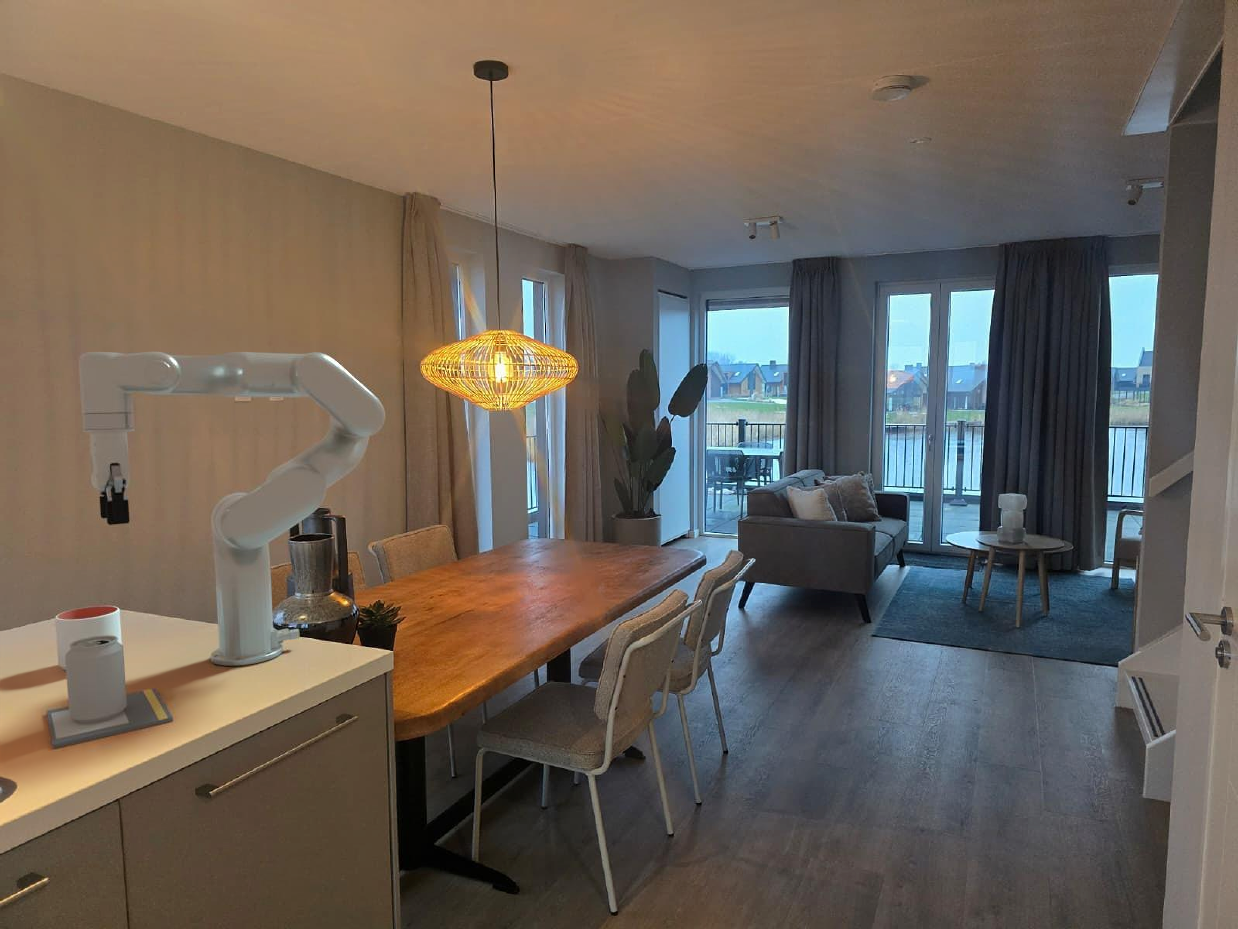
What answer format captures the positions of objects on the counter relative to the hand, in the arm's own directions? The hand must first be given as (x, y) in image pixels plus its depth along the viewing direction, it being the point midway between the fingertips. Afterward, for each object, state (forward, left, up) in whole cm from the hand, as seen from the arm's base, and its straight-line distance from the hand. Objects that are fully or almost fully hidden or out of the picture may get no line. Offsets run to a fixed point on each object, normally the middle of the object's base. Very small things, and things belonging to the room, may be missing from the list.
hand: (114, 520), depth 139 cm
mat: (+4, +20, -28) cm, 35 cm away
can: (+6, +20, -28) cm, 35 cm away
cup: (+4, -12, -29) cm, 31 cm away
